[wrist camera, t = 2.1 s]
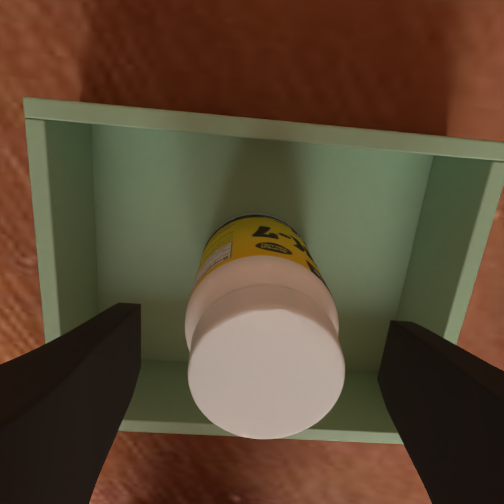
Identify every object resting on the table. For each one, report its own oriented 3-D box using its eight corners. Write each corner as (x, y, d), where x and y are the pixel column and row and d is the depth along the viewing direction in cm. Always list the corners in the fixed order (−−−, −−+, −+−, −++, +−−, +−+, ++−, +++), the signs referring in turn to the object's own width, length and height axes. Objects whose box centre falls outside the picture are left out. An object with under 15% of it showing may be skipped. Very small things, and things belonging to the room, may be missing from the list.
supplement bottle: (329, 256, 18) (402, 369, 10) (260, 327, 19) (277, 482, 11) (248, 187, 17) (256, 252, 9) (180, 267, 18) (132, 391, 10)
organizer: (388, 379, 20) (427, 445, 16) (91, 362, 20) (52, 428, 15) (447, 136, 17) (517, 143, 12) (78, 101, 16) (21, 96, 12)
